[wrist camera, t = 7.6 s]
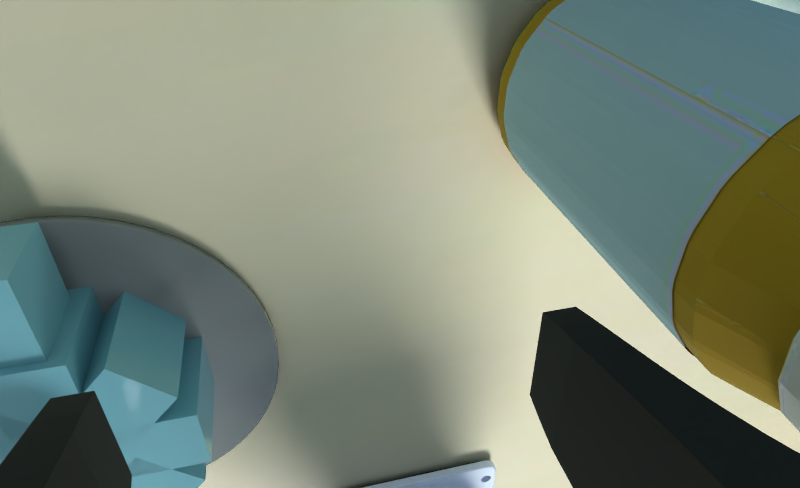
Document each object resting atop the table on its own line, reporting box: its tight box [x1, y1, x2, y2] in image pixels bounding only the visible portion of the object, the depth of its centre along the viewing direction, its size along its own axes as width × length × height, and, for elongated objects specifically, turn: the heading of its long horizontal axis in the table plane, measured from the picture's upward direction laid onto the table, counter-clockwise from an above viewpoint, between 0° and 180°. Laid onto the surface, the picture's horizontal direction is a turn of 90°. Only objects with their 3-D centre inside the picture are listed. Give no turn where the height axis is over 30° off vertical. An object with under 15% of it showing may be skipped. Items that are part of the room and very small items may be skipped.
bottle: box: [497, 0, 800, 431], centre depth 13 cm, size 7×7×15 cm
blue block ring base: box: [0, 216, 279, 488], centre depth 19 cm, size 13×13×4 cm
